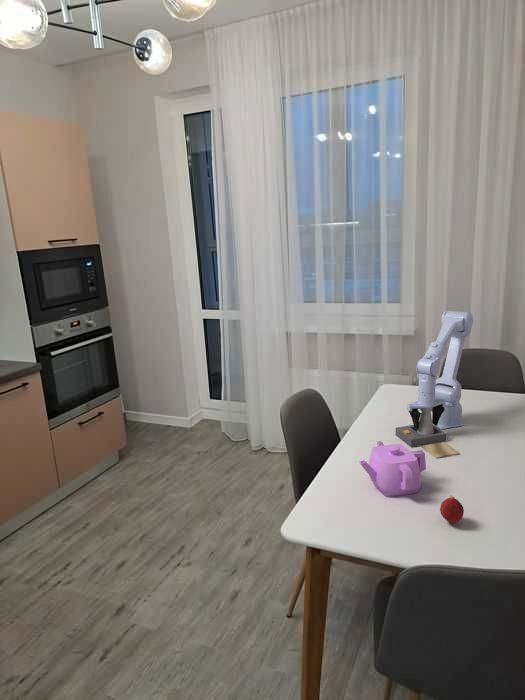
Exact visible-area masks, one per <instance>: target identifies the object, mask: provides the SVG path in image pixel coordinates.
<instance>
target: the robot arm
mask: <svg viewBox="0 0 525 700" xmlns="http://www.w3.org/2000/svg"><path fill="white" fill-rule="evenodd" d="M440 321H441V323H440V324H441V328H440V330H439V333H438V335H437V337H436V340H435V341H433V342H431V343H430V345H429V346H428V348H427V350H426V352H425V353H424V355H423V357H422V358H419V359H418V360H417V363H416V366H415V370H416V373H417V374H416V375H417V376H416V378H417V379H418V393H417V394H418V395H417V396H418V397H417V398H418V399H417V401H415V402H411V403H409V404H406V410H407V412H408V413H409V415H410V417H411V420H412V423H413V424H412V425H414V427H415V428H416V429H419V421H420V416H421V412H420V411H419V410H420V409H422V408H432V407H433V409H432V411H431V418H432V424H433V425H434V426H436V427H437V428H439V429H440V430H447V429H450V428H457V427H463V425H464V424H463V423H462V421H463V407H462V404H461V403H460V400H461V397H462V385H461V383H460V382H459V381H458V380H457V375H458V371H459V370H458V369H459V367H460V362H461V358H462V353H463V350H464V346H465V345H464V344H465V341H466V337H469V336H470V335H471V332H472V328H473V325H474V324H473V323H474V317H473V314H472V313H471V312H469V311H468V312H465V311H455V310H454V311H453V310H449V309H446V310H445V311H444V312H443V313H442V315H441V320H440ZM449 341H450V342H449ZM448 342H449V345H448V350H447V347H446V345H447V343H448ZM446 352H447V354H446ZM445 354H446V358H445V363H444V367H443V371H442V376H440V377H438V378H437V375H438V374H439V372H440V367H441V361H442V360H443V358H444V355H445Z"/></svg>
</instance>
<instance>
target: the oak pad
mask: <svg viewBox="0 0 525 700" xmlns="http://www.w3.org/2000/svg"><path fill="white" fill-rule="evenodd" d="M421 448H422V449H423V450H424V451H426V452H427V453H428V454H429V455H431V456H433V458H435V459H442V458H447V457H454V456H458V455H461V452H460V451H458V450H456V449H455V448H453V447H452V446H450V445H449V444H448V443H446V442H440V443H434V444H429V445H423V446H421Z"/></svg>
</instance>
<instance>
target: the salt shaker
mask: <svg viewBox="0 0 525 700" xmlns="http://www.w3.org/2000/svg"><path fill="white" fill-rule="evenodd" d="M432 409H433V407H432V408H422V409H419V410H420V411H421V412H420V413H421V415H420V419H419V429H417V433H418V434H420V435H421V436H424V435H430V434H433V433H434V430H433V425H434V424H432Z"/></svg>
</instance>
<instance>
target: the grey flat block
mask: <svg viewBox="0 0 525 700" xmlns="http://www.w3.org/2000/svg"><path fill="white" fill-rule="evenodd" d="M433 430H434V433H433V434H430V435H424V436H421V435H420V434H418V433H417V429H416V428H415V427H414V424H411V425H405V426H398V427H395V436H396V437H397V438H398V439H400V440H401V441H402V442H403V443H405V444H406V445H407V446H408V447H410V448H417V447H422V446H424V445H430V444H435V443H441V442H445V441H446V442H447V433H446V432H445V431H443V429H440V428H438V427H437V426H435V425H434V424H433ZM446 442H445V443H446Z"/></svg>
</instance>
